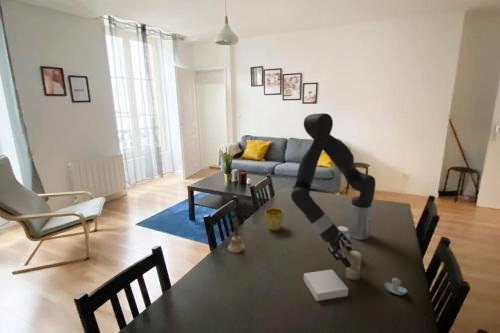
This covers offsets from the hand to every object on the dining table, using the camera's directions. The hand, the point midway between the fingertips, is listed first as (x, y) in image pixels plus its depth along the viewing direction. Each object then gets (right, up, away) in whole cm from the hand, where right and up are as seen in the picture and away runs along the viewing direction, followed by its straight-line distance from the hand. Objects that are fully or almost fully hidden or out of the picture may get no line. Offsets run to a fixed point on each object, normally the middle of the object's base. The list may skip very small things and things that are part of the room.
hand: (352, 261), depth 111 cm
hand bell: (-47, -2, +23) cm, 53 cm away
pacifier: (+13, -9, -7) cm, 18 cm away
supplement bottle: (+1, -3, +17) cm, 18 cm away
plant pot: (-27, +3, +44) cm, 52 cm away
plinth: (-12, -8, -5) cm, 16 cm away
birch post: (+1, -7, +1) cm, 7 cm away
